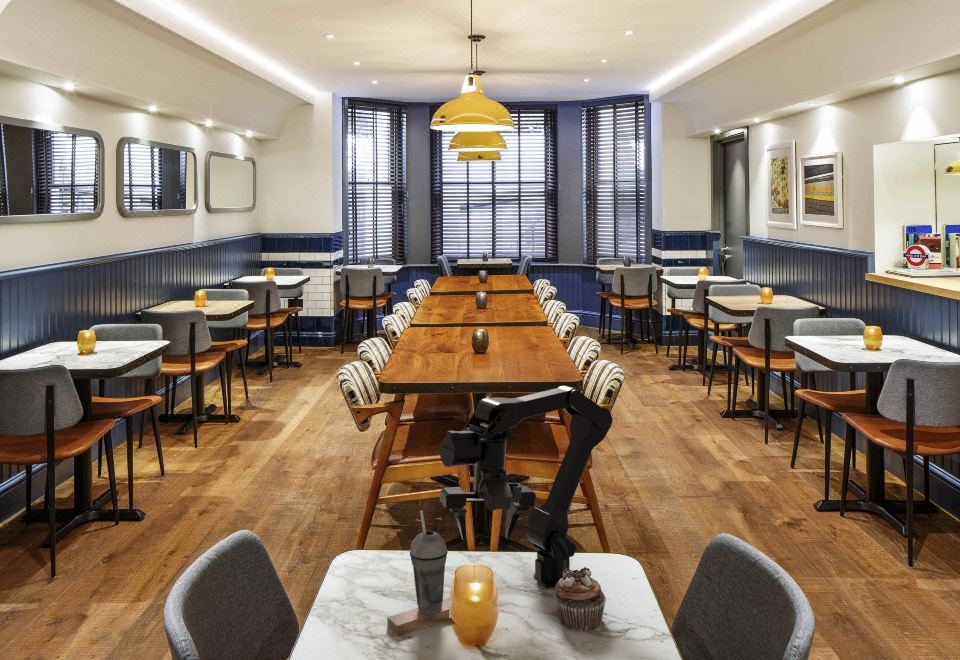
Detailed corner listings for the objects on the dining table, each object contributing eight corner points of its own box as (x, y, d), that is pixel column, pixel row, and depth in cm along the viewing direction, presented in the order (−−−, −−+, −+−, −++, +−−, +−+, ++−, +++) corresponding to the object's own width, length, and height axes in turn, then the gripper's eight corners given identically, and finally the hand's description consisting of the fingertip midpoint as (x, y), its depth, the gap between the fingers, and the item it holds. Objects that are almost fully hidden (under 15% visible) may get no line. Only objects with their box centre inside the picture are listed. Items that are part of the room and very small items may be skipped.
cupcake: (564, 636, 154) (563, 584, 153) (549, 611, 163) (549, 563, 162) (613, 630, 156) (613, 579, 154) (596, 606, 165) (596, 558, 164)
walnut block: (459, 604, 167) (458, 594, 167) (469, 612, 164) (469, 602, 163) (387, 627, 158) (387, 617, 158) (397, 635, 155) (397, 625, 155)
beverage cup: (452, 615, 158) (450, 514, 156) (414, 620, 156) (412, 518, 154) (444, 598, 165) (442, 501, 162) (408, 603, 163) (405, 505, 161)
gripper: (455, 474, 155) (450, 555, 157) (549, 472, 161) (543, 551, 162) (441, 459, 166) (436, 535, 167) (529, 458, 171) (524, 532, 173)
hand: (485, 538), depth 167 cm, fingers open, 9 cm apart
